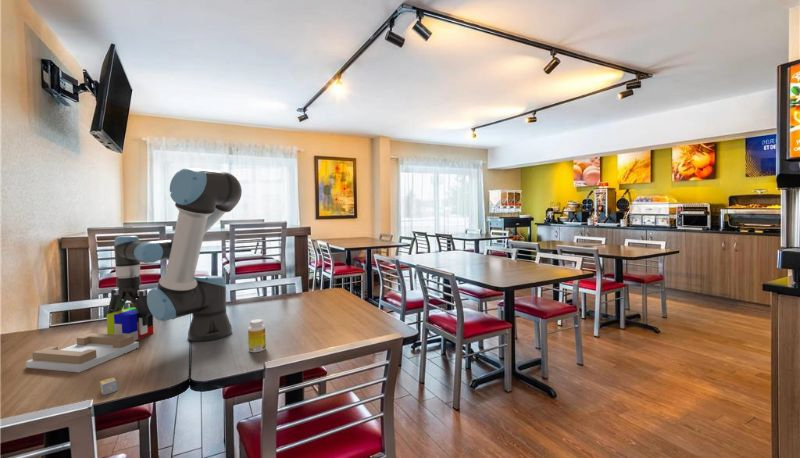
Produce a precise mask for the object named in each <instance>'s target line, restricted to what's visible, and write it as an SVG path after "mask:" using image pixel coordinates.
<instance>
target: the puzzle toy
mask: <svg viewBox="0 0 800 458" xmlns="http://www.w3.org/2000/svg"><path fill="white" fill-rule="evenodd" d="M143 314H144V313H143ZM139 317H141V316H140V314H139V312H138V311H137V309H136V307H135V306H133V307H128V308H125V309H124V308H123V309H122V310H120V311H117V312H113V313H110V314H108V313H107V314H106V327H107V328H106V330H107V333H106V334H113V335H128V336H134V342H136V341H137V340H140V339H142V338H145V337H147V336H149V335H152V334H154V316H153V315H149V316H148V325H147V330H148V333H145V334H143V335H140V330H139Z"/></svg>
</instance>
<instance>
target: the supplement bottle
mask: <svg viewBox="0 0 800 458" xmlns="http://www.w3.org/2000/svg"><path fill="white" fill-rule="evenodd" d="M249 323H250V326H248V327H247V340H248V341H247V344H248V351H249V352H250V353H258V352H263V351H265V349H266V345H267V344H266V343H267V342H266V326H265V325H264V324H263V323H264V322H263V319H262V318H260V319H259V318H258V319H257V318H256V319H252V320H250V322H249Z"/></svg>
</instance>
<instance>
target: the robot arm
mask: <svg viewBox="0 0 800 458" xmlns="http://www.w3.org/2000/svg"><path fill="white" fill-rule="evenodd" d="M169 193H170V198H171V200H172V201H173V202H174V206H175V208H176V209H177V210H178V215H177V221H176V224H175V229H174V234H173V237H172V238H171V239H165V240H164V239H163V240H151V241H140V238H139V236H137V235H121V236H116V237H114V246H113V249H114V261H115V267H114V268H115V277H116V278H115V280H116V281H115V283H116V284H115V286H116V288H115V289H111V292H110V293H111V296H110V300H109V304H108V309H107V314H110V313H113V312H117V311H120V310H123V309H124V306H125V305H126V303H127V302H128V301H130V303H132V304H133V307H134V308H136V309H137V311H138V312H139V314H140V316H141V317H139V330H140V335H143V334H145V333H148V330H147V325H148V316H149V315H153V318H155V319H157V320H158V321H162V322H166V321H169V320H175V319H178V318H182V317H185V316H188V315H192V319H191V321H190V324H189V328H188V331H187V338H188V340H190V341H193V342H206V341H207V342H208V341H214V340H219V339H222V338H225V337H227V336H229V335H231V333H232V332H233V327H232V324H231V321H230V319H229V317H228V316H229V315H228V314H227V293H226V292H227V291H226V288H227V286H226V279H225V278H224V277H223V276H218V275H196V270H197V266H198V261H199V257H200V255H201V254H200V253H201V250H202V249H201V248H202V244H203V240H204V236H205V234H206V233H207V232H208V231H209V230H210V229H211V228H213V226H214V225H215V224H216V223H217V222H218V221H219V220H220V219H221V218H222V217H223V215H225V213H230V212H232V210H233V209H234V208H235V207H236V206H237V205H238V203H239V202H240V200H241V197H242V194H243V191H242V185H241V183H240V180H238V178H237V177H235V176H234V175H233V174H232V173H229V172H227V171H222V170H220V171H219V170H210V169H203V168H198V167H193V168H190V167H189V168H188V167H187V168H186V167H185V168H182V169H180V170H179V171H177V172H175V174H174V175H173V177H172V178H171V181H170V183H169ZM164 260H168V262H167V267H166V273H165V275H163V276H162V277H160V278H159V279H158V283H157V287H154V288H152V289H151V290H149V291H148V290H147V289H142V290H141V289H140V286H141V285H142V284H141V283H142V279H141V263H144V264H149V263H157V262H158V261H164ZM143 313H144V314H143Z"/></svg>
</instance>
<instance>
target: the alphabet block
mask: <svg viewBox="0 0 800 458" xmlns="http://www.w3.org/2000/svg"><path fill="white" fill-rule="evenodd" d="M99 384H100V386H99V387H100V392H101V394H102V395H103V396H105V395H109V394H111V393H115V392H117V391H118V385H117V380H116V378H115V377H109V378H107V379H104V380H100V381H99Z"/></svg>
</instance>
